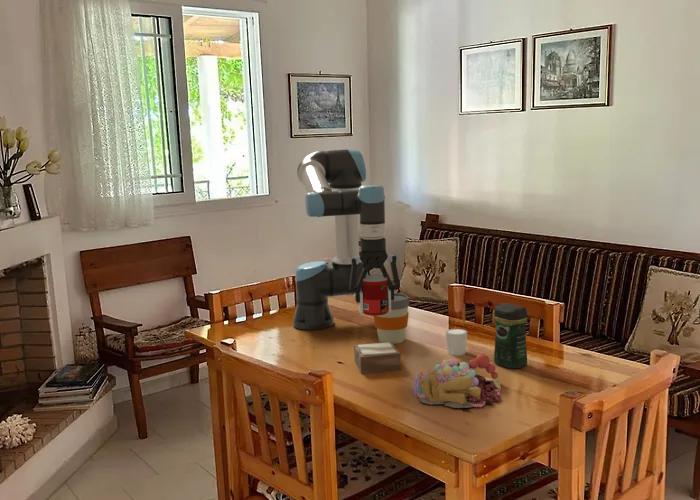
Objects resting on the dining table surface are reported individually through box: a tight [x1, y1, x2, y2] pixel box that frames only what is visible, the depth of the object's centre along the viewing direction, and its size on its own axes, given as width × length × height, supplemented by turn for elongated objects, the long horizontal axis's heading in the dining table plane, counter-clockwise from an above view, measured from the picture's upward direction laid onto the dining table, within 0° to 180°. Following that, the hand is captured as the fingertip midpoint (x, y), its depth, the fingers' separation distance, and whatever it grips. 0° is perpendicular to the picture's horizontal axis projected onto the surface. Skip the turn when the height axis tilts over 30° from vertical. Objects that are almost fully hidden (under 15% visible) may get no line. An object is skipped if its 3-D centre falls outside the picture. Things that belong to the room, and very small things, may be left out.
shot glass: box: [445, 328, 468, 356], centre depth 219 cm, size 7×7×7 cm
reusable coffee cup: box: [373, 292, 410, 345], centre depth 234 cm, size 13×13×15 cm
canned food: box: [361, 274, 389, 317], centre depth 206 cm, size 8×8×11 cm
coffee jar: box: [493, 302, 528, 369], centre depth 205 cm, size 10×8×19 cm
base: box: [353, 342, 402, 374], centre depth 210 cm, size 12×12×5 cm
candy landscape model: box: [412, 353, 502, 409], centre depth 186 cm, size 25×24×9 cm
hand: (375, 311), depth 207 cm, fingers closed on canned food, 8 cm apart
